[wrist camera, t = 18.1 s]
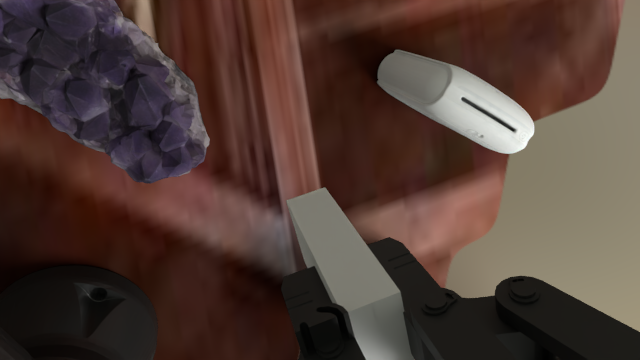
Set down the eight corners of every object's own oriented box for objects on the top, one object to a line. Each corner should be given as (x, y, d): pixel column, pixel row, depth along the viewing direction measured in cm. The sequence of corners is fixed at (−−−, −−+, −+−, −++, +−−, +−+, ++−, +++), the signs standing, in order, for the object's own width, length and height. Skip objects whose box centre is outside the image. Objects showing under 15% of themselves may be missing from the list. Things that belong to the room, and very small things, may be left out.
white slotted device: (470, 91, 47) (558, 122, 36) (447, 128, 48) (526, 170, 37) (391, 41, 43) (463, 59, 32) (367, 83, 44) (430, 114, 33)
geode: (251, 86, 41) (261, 131, 33) (170, 176, 44) (161, 239, 35) (21, -104, 32) (-48, -110, 23) (-64, 26, 34) (-154, 63, 26)
